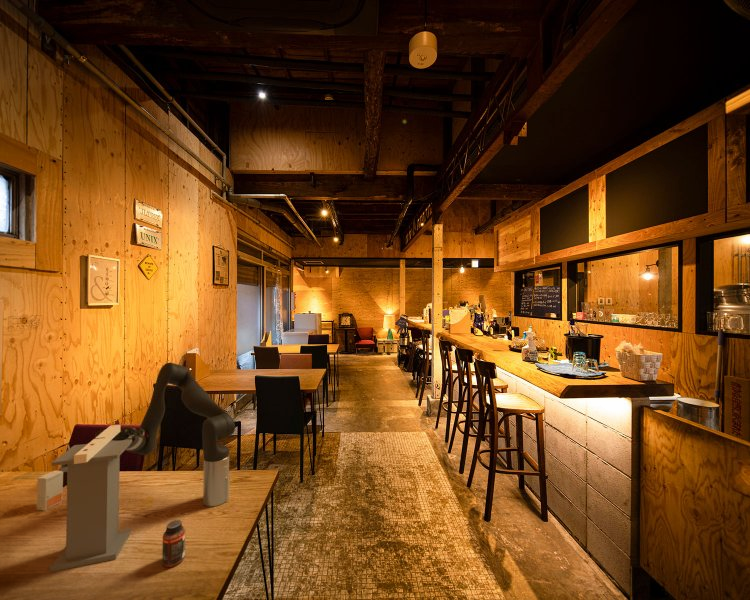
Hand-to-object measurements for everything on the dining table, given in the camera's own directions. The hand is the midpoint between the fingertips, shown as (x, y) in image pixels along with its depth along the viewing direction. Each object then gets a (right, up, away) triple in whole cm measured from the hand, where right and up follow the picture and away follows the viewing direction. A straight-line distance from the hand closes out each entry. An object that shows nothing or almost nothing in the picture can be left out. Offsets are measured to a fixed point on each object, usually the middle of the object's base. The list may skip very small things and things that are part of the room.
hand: (113, 431), depth 117 cm
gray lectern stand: (+4, -33, -13) cm, 35 cm away
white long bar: (+3, -1, -10) cm, 11 cm away
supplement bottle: (+31, -33, -16) cm, 49 cm away
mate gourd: (-40, -33, +25) cm, 57 cm away
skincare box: (-32, -33, +10) cm, 47 cm away
